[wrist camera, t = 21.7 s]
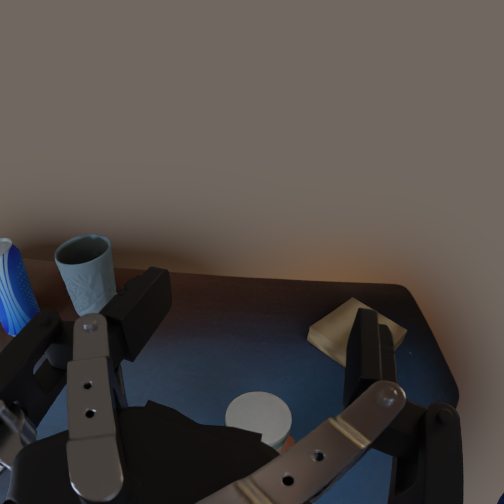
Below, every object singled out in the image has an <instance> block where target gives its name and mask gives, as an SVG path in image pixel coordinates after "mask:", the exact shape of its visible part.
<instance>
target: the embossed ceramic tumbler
mask: <svg viewBox="0 0 504 504" xmlns="http://www.w3.org/2000/svg"><path fill="white" fill-rule="evenodd" d="M55 261H56V263H57V266H58V268H59V271H60V272H61V275H62V278H63V280H64V282H65V284H66V286H67V287H66V288H67V290H68V293H69V295H70V297H71V300H72V302H73V304H74V307H75V310H76V312H77V313H78V314H79V315H80V316H83V315H85V314H88V313H99V311H100V310H101V309H102V308H103V307H104V306H105V305H106V304H107V303H108V302H109V301H110V300H111V299H112V298H113V297H114V295H115V294H117V292H116V283H115V277H114V271H113V270H114V269H113V261H112V250H111V242H110V240H109V239H108V238H106V237H105V236H102V235H97V234H88V235H82V236H78V237H75V238H72V239H70V240H68V241H67V242H65V243H63V244H62V245H60V246H59V248H58V249H57V250H56V252H55Z"/></svg>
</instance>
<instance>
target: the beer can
mask: <svg viewBox="0 0 504 504" xmlns="http://www.w3.org/2000/svg"><path fill="white" fill-rule="evenodd" d="M39 312H40V308H39V306H38V303H37V301H36V298H35V295H34V293H33V290H32V287H31V284H30V281H29V278H28V275H27V272H26V269H25V266H24V263H23V260H22V257H21V253H20V251H19V249H18V248H16V247H15V246H14V245H13V244H12V241H11V240H10V239H8V238H1V239H0V322H1V324H2V326H3V328H4V330H5V332H6V333H8V334H9V335H12V336H13V337H15V336H16V335H17V334H18V333H19V332H20V331H21V330H22V328H23V327H24V326H25V325H26V324H27V323H28V322H29V321H30V320H31V319H32V318H33V317H34V316H35V315H36V314H37V313H39Z"/></svg>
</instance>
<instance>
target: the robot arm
mask: <svg viewBox="0 0 504 504" xmlns="http://www.w3.org/2000/svg"><path fill="white" fill-rule="evenodd" d="M171 304H172V294H171V285H170V275H169V271H168V270H166V269H161V268H157V267H150V268H149V269H148V270H147V271H146V272H145V273H144V274H143V275H142V276H141V275H138V276H136V277H134V278H132V279H131V280H129V281H128V282H127V283H126V284H125V285H124V286H123V287H122V289H120V290H119V291H118V292H117V294H115V295H114V297H113V298H112V299H111V300H110V301H109V302H108V303H107V304H106V305H105V306H104V307H103V308H102V309H101V310H100V311H99V313H88V314H85V315H83V316H81V317H80V318H78V319H77V320H76V322H73V321H61V319H60V316H59V314H58V312H57V311H55V310H51V309H47V310H43V311H40V312H39V313H37V314H36V315H35V316H34V317H33V318H32V319H31V320H30V321H29V322H28V323H27V324H26V325H25V326H24V327H23V328H22V330H21V331H20V332H19V333H18V334H17V335H16V336H15V337H14V338H13V339H12V341H11V342H10V343H9V344H8V345H7V346H6V347H5V348H4V350H3V351H2V352H1V353H0V466H2V467H7V468H8V469H9V470H11V480H10V486H9V491H8V494H7V497H6V500H5V501H4V503H3V504H312V503H313V502H315V501H316V500H317V499H318V498H320V497H321V496H322V495H323V494H324V493H325V492H327V491H328V490H329V489H330V488H331V487H332V486H333V485H334V484H335V483H336V482H337V481H338V480H340V479H341V478H342V477H343V476H344V475H345V474H346V473H347V472H348V471H349V470H350V469H351V468H352V467H353V466H354V465H355V464H356V463H357V462H358V461H359V460H360V459H361V458H362V457H363V456H364V455H365V454H366V453H367V452H368V451H369V450H370V449H371V448H374V449H376V450H379V451H381V452H384V453H386V454H389V455H391V456H393V462H392V472H391V482H390V490H389V498H388V504H463V454H462V439H461V428H460V418H459V414H458V412H457V411H456V409H455V408H454V407H453V406H451V405H450V404H448V403H445V402H435V403H433V404H431V405H430V406H429V407H428V408H426V407H424V406H421V405H419V404H416V403H414V402H411V401H410V400H408V399H407V398H406V395H405V393H404V391H403V389H402V388H401V387H400V386H399V385H398V378H397V367H396V357H395V348H394V339H393V334H392V332H391V331H390V329H389V327H388V326H387V325H385V324H379V323H378V313H377V310H372V309H365V308H358V311H357V314H356V317H355V320H354V323H353V326H352V329H351V332H350V335H349V338H348V342H347V348H346V366H345V382H344V396H343V408H342V413H340V414H339V415H338V416H337V417H335V418H334V417H333V416H332V417H330V418H328V419H327V420H325V421H324V422H323V423H322V424H320V425H319V426H318V427H317V428H315V429H314V430H313V431H311V432H310V433H309V434H308V435H306V436H305V437H304V438H302V439H301V440H300V441H298V442H297V443H296V444H294V445H293V446H292V447H290V448H289V449H288V450H286V451H285V452H283V453H282V454H280V453H279V452H277V451H276V450H275V449H274V448H272V447H271V446H269V445H267V444H266V443H264V442H261V439H262V433H257V432H253V431H249V430H244V429H240V428H236V427H232V426H213V425H201V424H198V423H196V422H195V421H193V420H191V419H190V418H188V417H186V416H185V415H183V414H181V413H180V412H178V411H177V410H175V409H173V408H170V407H167V406H164V405H161V404H158V403H156V402H153V401H150V400H148V402H147V403H146V405H145V407H138V406H134V407H128V403H127V399H126V393H125V388H124V381H123V375H122V368H121V365H120V363H121V361H122V360H123V359H126V360H128V361H131V362H133V361H134V360H135V359H136V357H137V356H138V354H139V353H140V351H141V350H142V349H143V347H144V346H145V344H146V343H147V341H148V340H149V339H150V337H151V336H152V334H153V333H154V332H155V330H156V329H157V327H158V326H159V325H160V323H161V322H162V320H163V319H164V318H165V316H166V315H167V313H168V312H169V310H170V308H171ZM44 353H45V355H46V357H47V359H46V360H45V361H44V362H43V364H42V365H41V366H40V367H39V369H38V370H37V371H36V373H35V374H34V375H33V368H34V366H35V364H36V363H37V361H38V360H39V359H40V358H41V356H42V355H43V354H44ZM66 383H67V408H68V427H69V429H68V430H66V431H63V432H60V433H58V434H55V435H52V436H50V437H47V438H44V439H41V440H39V441H37V440H36V435H37V430H36V428H37V427H38V425H39V423H40V422H41V420H42V419H43V417H44V416H45V414H46V413H47V411H48V410H49V408H50V407H51V405H52V404H53V402H54V401H55V399H56V398H57V396H58V395H59V393H60V392H61V391H62V389H63V388H64V386H65V385H66Z"/></svg>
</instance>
